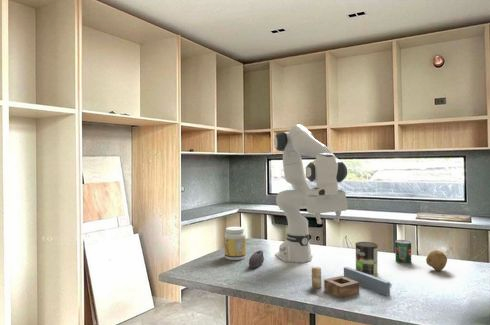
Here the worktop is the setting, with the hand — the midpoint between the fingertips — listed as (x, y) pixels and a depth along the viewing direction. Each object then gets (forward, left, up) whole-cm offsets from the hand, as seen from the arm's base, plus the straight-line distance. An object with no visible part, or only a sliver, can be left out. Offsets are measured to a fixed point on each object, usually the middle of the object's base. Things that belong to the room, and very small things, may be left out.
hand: (328, 222), depth 151 cm
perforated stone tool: (-44, -11, -29) cm, 54 cm away
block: (+5, +2, -28) cm, 29 cm away
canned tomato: (-10, +61, -29) cm, 68 cm away
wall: (+5, +16, -28) cm, 33 cm away
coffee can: (-7, +30, -29) cm, 42 cm away
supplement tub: (-64, -13, -29) cm, 71 cm away
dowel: (-5, -3, -29) cm, 29 cm away
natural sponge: (+8, +62, -29) cm, 69 cm away
